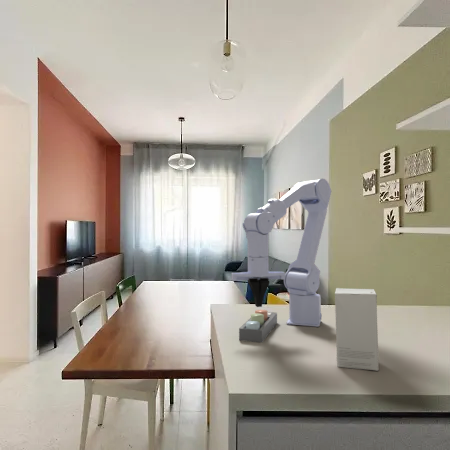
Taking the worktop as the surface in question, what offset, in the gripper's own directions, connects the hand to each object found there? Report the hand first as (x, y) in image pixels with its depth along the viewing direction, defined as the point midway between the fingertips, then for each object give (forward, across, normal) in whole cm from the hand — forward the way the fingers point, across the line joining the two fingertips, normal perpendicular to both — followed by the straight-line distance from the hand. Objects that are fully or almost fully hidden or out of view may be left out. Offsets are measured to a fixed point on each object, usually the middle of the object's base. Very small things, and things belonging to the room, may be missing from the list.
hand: (258, 306), depth 98 cm
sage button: (+5, 0, +1) cm, 5 cm away
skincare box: (+8, -16, +25) cm, 30 cm away
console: (+7, -1, -2) cm, 8 cm away
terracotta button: (+5, -2, -4) cm, 7 cm away
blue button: (+6, +3, +5) cm, 8 cm away
